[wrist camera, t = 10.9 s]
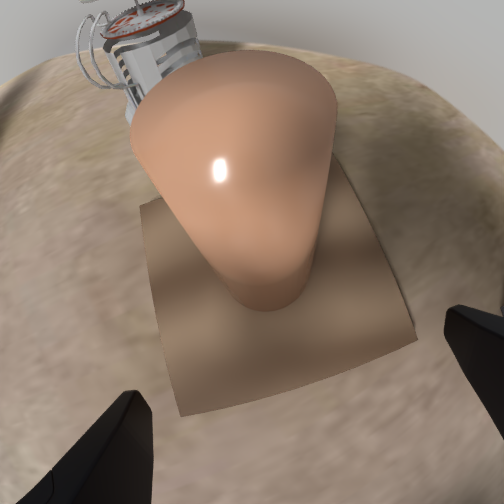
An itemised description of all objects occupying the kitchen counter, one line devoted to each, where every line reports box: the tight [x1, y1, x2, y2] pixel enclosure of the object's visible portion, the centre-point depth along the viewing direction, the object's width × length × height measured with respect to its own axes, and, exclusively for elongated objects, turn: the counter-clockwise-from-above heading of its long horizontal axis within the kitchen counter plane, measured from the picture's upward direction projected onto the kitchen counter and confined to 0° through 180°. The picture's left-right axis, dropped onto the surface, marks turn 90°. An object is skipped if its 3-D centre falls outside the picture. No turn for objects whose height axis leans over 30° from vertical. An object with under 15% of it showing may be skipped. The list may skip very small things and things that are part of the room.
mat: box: [140, 153, 418, 417], centre depth 18 cm, size 14×14×1 cm
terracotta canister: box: [130, 50, 337, 312], centre depth 12 cm, size 5×5×12 cm
